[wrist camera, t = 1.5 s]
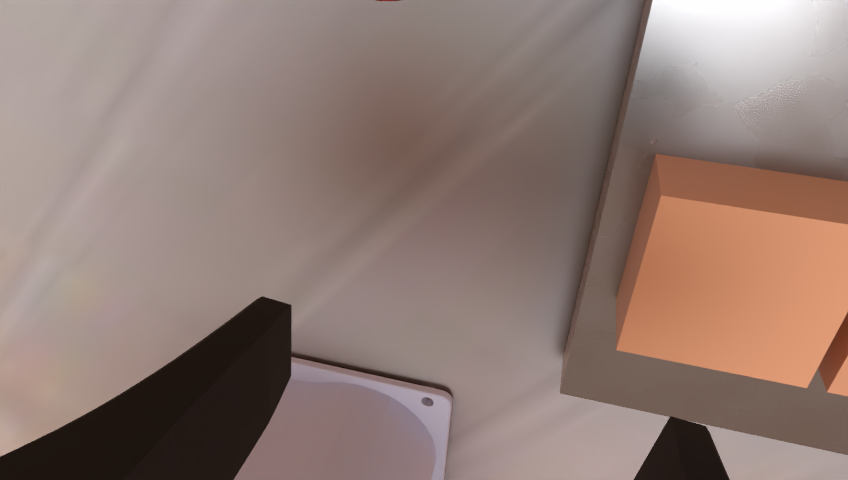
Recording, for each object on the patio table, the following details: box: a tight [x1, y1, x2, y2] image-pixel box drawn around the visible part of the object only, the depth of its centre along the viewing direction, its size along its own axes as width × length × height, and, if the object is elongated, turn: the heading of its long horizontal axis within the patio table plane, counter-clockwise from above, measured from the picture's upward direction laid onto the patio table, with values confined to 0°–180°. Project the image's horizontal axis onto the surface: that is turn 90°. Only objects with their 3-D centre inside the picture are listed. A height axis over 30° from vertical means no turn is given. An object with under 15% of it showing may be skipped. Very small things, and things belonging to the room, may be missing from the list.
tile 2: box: [616, 154, 848, 388], centre depth 17 cm, size 5×5×2 cm
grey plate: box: [560, 0, 848, 455], centre depth 18 cm, size 12×14×2 cm
